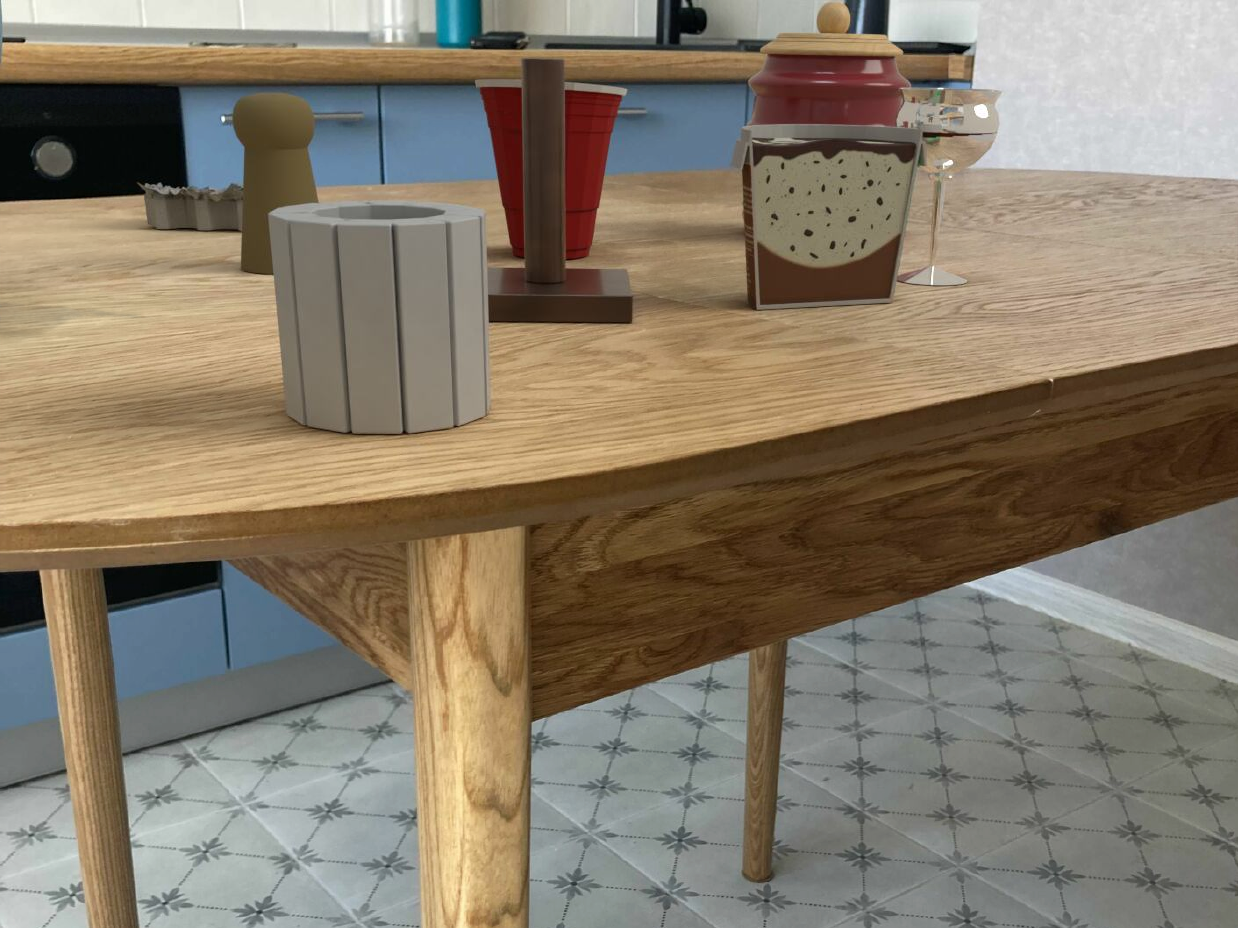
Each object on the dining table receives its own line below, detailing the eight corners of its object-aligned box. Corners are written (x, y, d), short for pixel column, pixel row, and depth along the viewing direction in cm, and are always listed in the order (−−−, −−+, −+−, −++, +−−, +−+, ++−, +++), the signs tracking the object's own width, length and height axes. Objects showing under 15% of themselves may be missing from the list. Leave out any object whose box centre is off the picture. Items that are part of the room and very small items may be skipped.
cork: (301, 276, 89) (286, 95, 84) (222, 270, 91) (203, 93, 86) (348, 264, 94) (336, 93, 90) (272, 258, 96) (257, 91, 91)
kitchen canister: (898, 249, 107) (921, 0, 99) (733, 242, 108) (745, -3, 101) (895, 229, 118) (916, 5, 111) (747, 223, 120) (758, 3, 113)
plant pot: (269, 433, 53) (249, 222, 50) (308, 385, 61) (293, 199, 58) (483, 435, 54) (476, 225, 51) (495, 386, 61) (490, 201, 58)
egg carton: (294, 224, 115) (291, 173, 113) (262, 234, 108) (258, 180, 107) (174, 219, 116) (168, 168, 114) (135, 229, 109) (128, 175, 108)
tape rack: (454, 321, 76) (443, 57, 70) (467, 291, 85) (459, 56, 79) (632, 323, 76) (636, 61, 71) (626, 293, 85) (630, 59, 80)
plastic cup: (649, 251, 103) (652, 80, 98) (584, 269, 94) (585, 81, 89) (524, 241, 107) (521, 76, 102) (451, 257, 98) (444, 77, 93)
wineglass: (972, 290, 89) (995, 92, 84) (870, 282, 91) (887, 89, 86) (987, 276, 94) (1010, 90, 89) (891, 269, 97) (908, 87, 92)
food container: (864, 285, 89) (877, 123, 85) (913, 301, 84) (930, 129, 80) (692, 294, 85) (698, 124, 81) (733, 311, 80) (742, 130, 76)
